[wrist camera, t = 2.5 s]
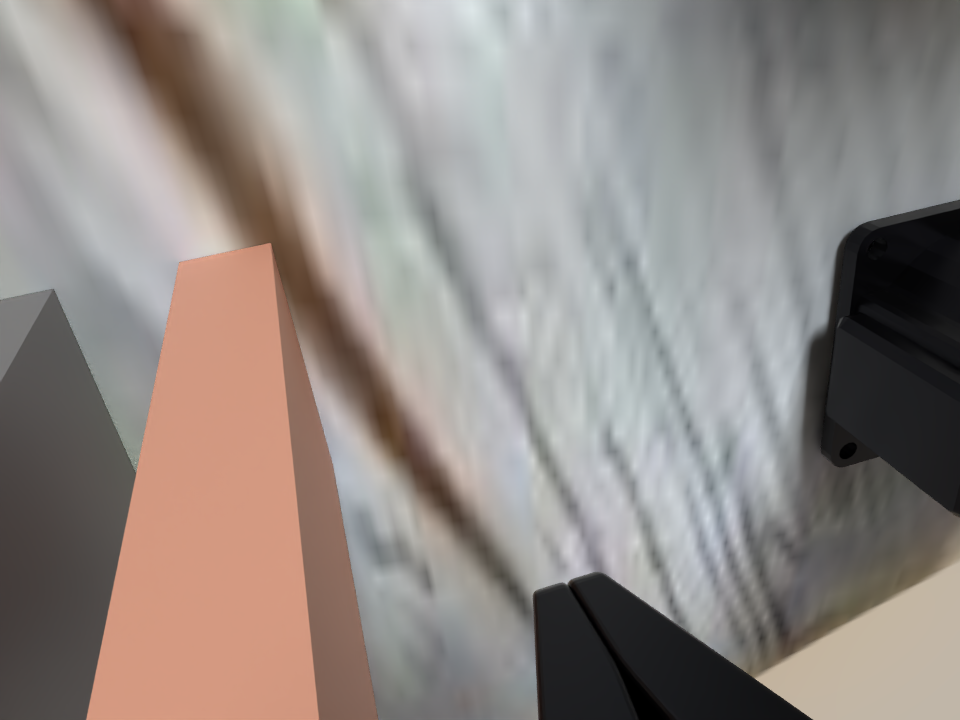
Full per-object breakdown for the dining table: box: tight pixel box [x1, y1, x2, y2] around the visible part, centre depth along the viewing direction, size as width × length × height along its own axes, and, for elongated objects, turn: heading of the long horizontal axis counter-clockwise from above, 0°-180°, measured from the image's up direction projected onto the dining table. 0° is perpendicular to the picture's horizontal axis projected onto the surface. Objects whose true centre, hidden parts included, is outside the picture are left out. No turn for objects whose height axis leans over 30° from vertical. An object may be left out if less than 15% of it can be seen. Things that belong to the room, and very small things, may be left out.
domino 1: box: [86, 243, 378, 720], centre depth 10 cm, size 2×5×10 cm, turn 8°
